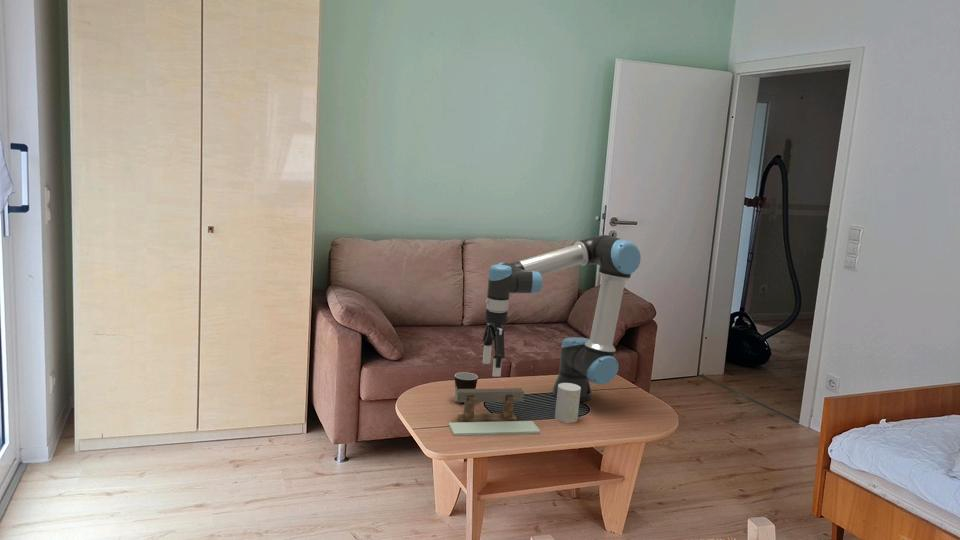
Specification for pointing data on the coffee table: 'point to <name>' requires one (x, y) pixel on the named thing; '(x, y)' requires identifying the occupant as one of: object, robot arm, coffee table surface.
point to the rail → (489, 395)
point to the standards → (488, 417)
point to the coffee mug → (465, 381)
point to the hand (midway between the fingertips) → (491, 369)
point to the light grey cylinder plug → (567, 402)
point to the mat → (493, 428)
